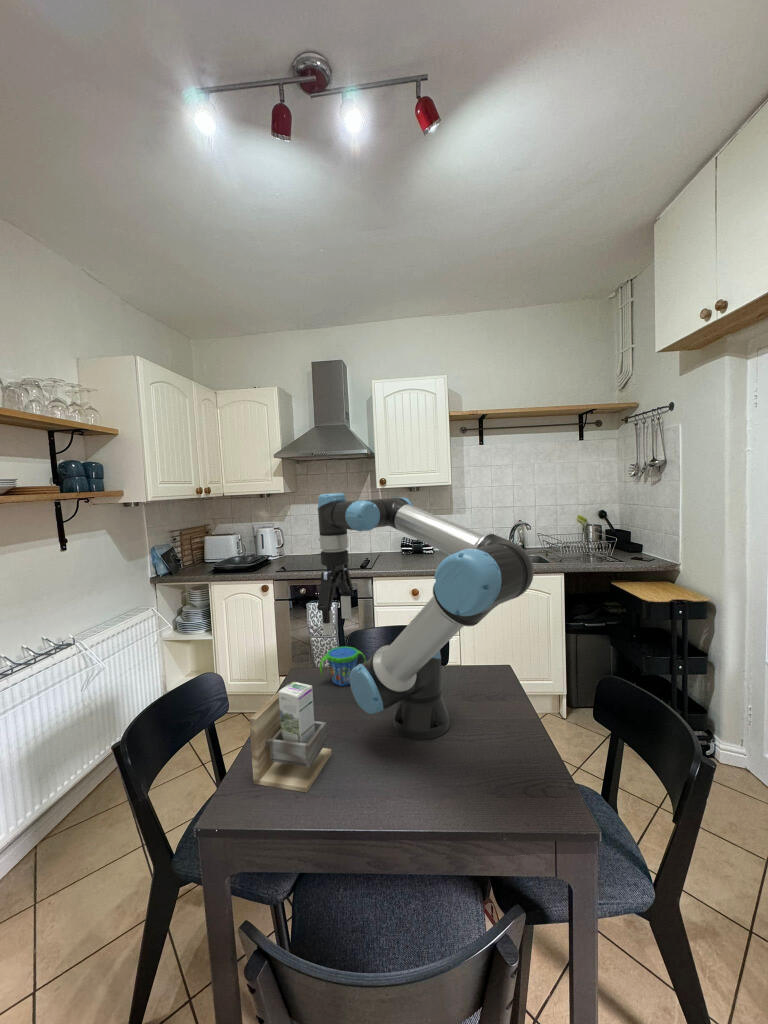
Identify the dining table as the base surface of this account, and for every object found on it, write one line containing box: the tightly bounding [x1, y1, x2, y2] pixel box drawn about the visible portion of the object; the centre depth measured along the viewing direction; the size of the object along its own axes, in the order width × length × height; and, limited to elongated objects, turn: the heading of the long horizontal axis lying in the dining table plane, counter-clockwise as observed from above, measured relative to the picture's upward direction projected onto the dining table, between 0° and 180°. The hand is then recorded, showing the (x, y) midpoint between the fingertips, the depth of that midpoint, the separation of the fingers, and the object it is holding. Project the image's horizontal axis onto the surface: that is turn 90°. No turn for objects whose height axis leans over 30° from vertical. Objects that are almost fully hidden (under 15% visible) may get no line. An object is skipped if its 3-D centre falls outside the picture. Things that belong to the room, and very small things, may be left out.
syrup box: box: [278, 681, 315, 744], centre depth 101 cm, size 6×6×14 cm
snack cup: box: [319, 646, 367, 687], centre depth 145 cm, size 16×10×10 cm
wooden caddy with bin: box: [248, 688, 333, 793], centre depth 102 cm, size 13×14×15 cm
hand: (338, 626), depth 121 cm, fingers open, 13 cm apart
